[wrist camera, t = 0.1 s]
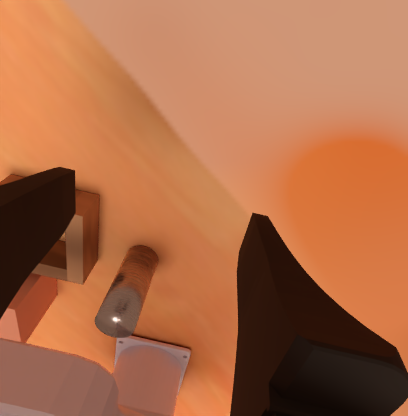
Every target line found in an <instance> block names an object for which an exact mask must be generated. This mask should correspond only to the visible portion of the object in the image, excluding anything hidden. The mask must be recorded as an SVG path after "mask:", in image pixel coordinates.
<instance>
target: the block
mask: <svg viewBox="0 0 408 416" xmlns="http://www.w3.org/2000/svg"><path fill="white" fill-rule="evenodd" d="M57 295H58V294H57V280H56V278H52V277H47V276H43V275H39V274H34V273H31V274H30V275H29V276H28V278H27V279H26V280H25V282H24V283H23V285H22V286H21V288H20V289H19V291H18V292H17V294H16V295H15V297H14V298H13V300H12V301H11V303H10V305H9V306H8V308H7V309H6V311H5V313H4V314H3V316H2V318H1V319H0V338H5V339H9V340H14V341H18V342H22V343H26V341H27V340H28V338H29V337H30V335H31V334H32V332H33V331H34V329H35V328H36V326H37V325H38V323H39V322H40V320H41V319H42V317H43V316H44V314H45V313H46V311H47V310H48V308H49V307H50V305H51V304H52V302H53V301H54V299H55V298H56V296H57Z"/></svg>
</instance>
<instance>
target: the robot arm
mask: <svg viewBox="0 0 408 416" xmlns="http://www.w3.org/2000/svg"><path fill="white" fill-rule="evenodd" d="M75 213H76V197H75V170H71V169H66V168H62V167H57V168H53V169H50V170H46V171H43V172H40V173H37V174H34V175H31V176H28V177H25V178H22V179H19V180H16V181H13V182H10V183H6V184H3V185H0V319H1V318H2V316H3V314H4V313H5V311H6V309H7V308H8V306H9V305H10V303H11V301H12V300H13V298H14V297H15V295H16V294H17V292H18V291H19V289H20V288H21V286H22V285H23V283H24V282H25V280H26V279H27V278H28V276H29V275H30V274H31V272H32V271H33V270H34V269H35V268H36V266H37V265H38V264H39V263H40V261H41V260H42V259H43V258H44V257H45V255H46V254H47V253H48V252H49V251H50V249H51V248H52V247H53V246H54V245H55V243H56V242H57V241H58V240H59V238H60V237H61V236H62V235H63V233H64V232H65V230H66V229H67V227H68V226H69V224H70V222H71V220H72V219H73V217H74V215H75ZM237 296H238V339H237V352H236V363H235V374H234V384H233V394H232V403H231V412H230V416H390V415H391V414H392V413H393V412H394V411H396V410H397V409H398V408H399V407H400V406H401V405H402V404H403V403H404V402H405V401H406V399H407V398H408V372H407V370H406V368H405V366H404V364H403V361H402V359H401V357H400V355H399V352H398V350H397V348H396V347H394V346H393V345H392V344H390V343H389V342H387V341H386V340H384V339H383V338H381V337H380V336H379V335H377V334H376V333H374V332H373V331H371V330H370V329H368V328H367V327H366V326H364V325H363V324H362V323H360V322H359V321H358V320H357V319H355V318H354V317H353V316H351V315H350V314H349V313H348V312H346V311H345V310H344V309H343V308H342V307H341V306H339V305H338V304H337V303H336V302H335V301H334V300H333V299H332V298H331V297H329V295H327V294H326V293H325V292H324V291H323V290H322V289H321V288H320V287H319V286H318V285H317V284H316V283H315V281H314V280H313V279H312V278H311V277H310V276H309V275H308V274H307V273H306V271H305V270H304V269H303V268H302V267H301V265H300V264H299V263H298V261H297V260H296V259H295V258H294V256H293V255H292V254H291V252H290V251H289V249H288V248H287V246H286V245H285V243H284V242H283V240H282V239H281V237H280V235H279V234H278V232H277V231H276V229H275V227H274V226H273V224H272V222H271V221H270V219H269V217H268V216H264V215H260V214H256V213H252V216H251V219H250V222H249V225H248V228H247V231H246V233H245V236H244V239H243V242H242V245H241V248H240V250H239V257H238V267H237ZM190 354H191V351H190V350H189V349H187V348H183V347H179V346H174V345H170V344H166V343H161V342H157V341H153V340H148V339H144V338H140V337H135V336H131V335H130V336H128V337H125V338H117V341H116V352H115V364H114V371H113V373H112V374H111V373H110V372H109V371H107V370H106V369H105V368H104V367H102V366H101V365H100V364H99V363H97V362H94V361H92V360H89V359H86V358H84V357H81V356H79V355H75V354H70V353H66V352H62V351H57V350H53V349H49V348H44V347H40V346H35V345H31V344H27V343H22V342H18V341H14V340H9V339H5V338H0V416H174V410H175V405H176V399H177V395H178V393H179V390H180V386H181V383H182V380H183V377H184V374H185V370H186V367H187V364H188V361H189V358H190Z"/></svg>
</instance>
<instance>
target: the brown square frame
mask: <svg viewBox="0 0 408 416" xmlns="http://www.w3.org/2000/svg"><path fill="white" fill-rule="evenodd" d="M22 178H24V177H20V176H16V175H12V174H11V175H10V176H8V177H7V178H5V179H4V180H3V181H1V182H0V185H3V184H6V183H10V182H13V181H16V180H19V179H22ZM75 197H76V213H75V215H74V217H73V219H72V220H71V222H70V224H69V226H68V227H67V229H66V230H65V237H66V242H63V241H59V240H58V241H57V242H56V243H55V245H54V246H53V247H52V248H51V249H50V251H49V252H48V253H47V254H46V255H45V257H44V258H43V259H42V260H41V261H40V263H39V264H38V265H37V266H36V268H35V269H34V270H33V271H32V272H31V273H34V274H39V275H43V276H47V277H52V278H56V279H60V280H65V281H69V282H73V283H78V284H82V285H83V284H84V282H85V281H86V279H87V277H88V276H89V274H90V272H91V270H92V269H93V267H94V265H95V264H96V262H97V260H98V223H99V195H97V194H92V193H88V192H84V191H80V190H75Z"/></svg>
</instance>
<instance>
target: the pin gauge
mask: <svg viewBox="0 0 408 416" xmlns="http://www.w3.org/2000/svg"><path fill="white" fill-rule="evenodd" d="M157 264H158V257H157V255H156V253H155V252H154V251H153V250H152V249H150V248H148V247H145V246H134V247H132V248H130V249H129V250H128V252H127V254H126V256H125V258H124V260H123V262H122V264H121V266H120V268H119V270H118V272H117V275H116V277H115V279H114V281H113V283H112V285H111V287H110V289H109V291H108V293H107V295H106V297H105V299H104V301H103V303H102V305H101V307H100V309H99V311H98V313H97V315H96V317H95V324H96V326H97V328H98V329H99V330H100V331H101V332H103V333H104V334H106V335H108V336H111V337H116V338H125V337H128V336H130V335H132V334H133V332H134V330H135V327H136V324H137V321H138V318H139V315H140V312H141V310H142V307H143V304H144V301H145V298H146V295H147V292H148V290H149V287H150V284H151V281H152V278H153V275H154V272H155V269H156V267H157Z"/></svg>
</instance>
